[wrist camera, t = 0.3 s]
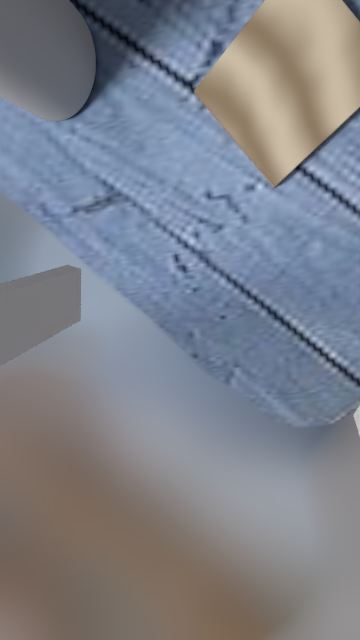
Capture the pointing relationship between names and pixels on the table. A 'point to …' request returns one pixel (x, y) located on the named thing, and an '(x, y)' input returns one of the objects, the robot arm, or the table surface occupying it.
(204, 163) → the table surface
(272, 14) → the birch pad
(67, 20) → the cylinder vase
